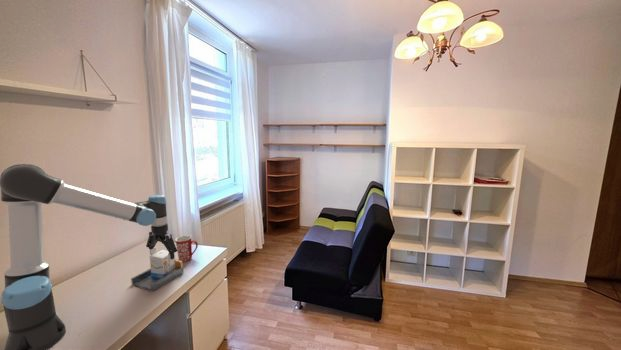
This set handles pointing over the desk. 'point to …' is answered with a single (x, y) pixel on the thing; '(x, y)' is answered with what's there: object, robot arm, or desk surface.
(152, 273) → the ink box
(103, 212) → the robot arm
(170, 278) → the grey open box
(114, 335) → the desk surface
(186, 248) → the mug
